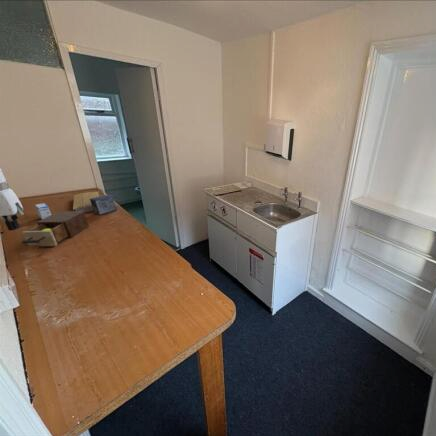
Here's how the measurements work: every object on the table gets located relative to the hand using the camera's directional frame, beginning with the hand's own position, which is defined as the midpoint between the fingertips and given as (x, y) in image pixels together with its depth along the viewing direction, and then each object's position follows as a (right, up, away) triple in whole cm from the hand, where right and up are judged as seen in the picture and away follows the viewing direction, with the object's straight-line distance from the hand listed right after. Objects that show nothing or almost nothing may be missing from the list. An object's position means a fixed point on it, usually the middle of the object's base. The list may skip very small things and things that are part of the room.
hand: (14, 228), depth 99 cm
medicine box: (-32, +4, +43) cm, 54 cm away
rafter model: (-27, +14, +67) cm, 74 cm away
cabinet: (-5, -3, +29) cm, 29 cm away
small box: (-6, +9, +56) cm, 57 cm away
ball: (-3, -6, +17) cm, 19 cm away
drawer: (-3, -7, +17) cm, 19 cm away
